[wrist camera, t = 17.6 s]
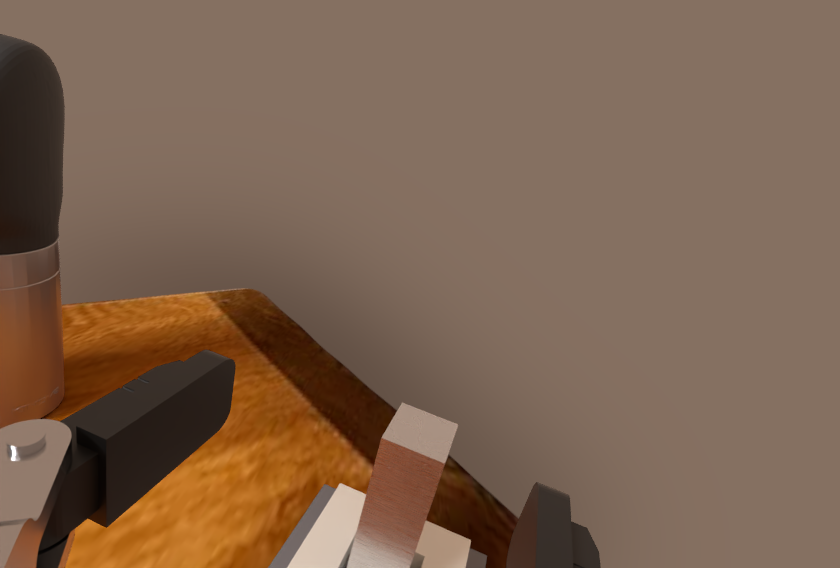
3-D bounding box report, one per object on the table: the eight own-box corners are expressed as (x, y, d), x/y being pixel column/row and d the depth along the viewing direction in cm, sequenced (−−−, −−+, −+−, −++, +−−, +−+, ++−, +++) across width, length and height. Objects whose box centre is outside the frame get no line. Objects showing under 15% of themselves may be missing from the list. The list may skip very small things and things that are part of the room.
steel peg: (334, 613, 33) (381, 437, 27) (356, 565, 36) (402, 402, 31) (385, 638, 32) (445, 463, 26) (402, 587, 36) (458, 424, 30)
